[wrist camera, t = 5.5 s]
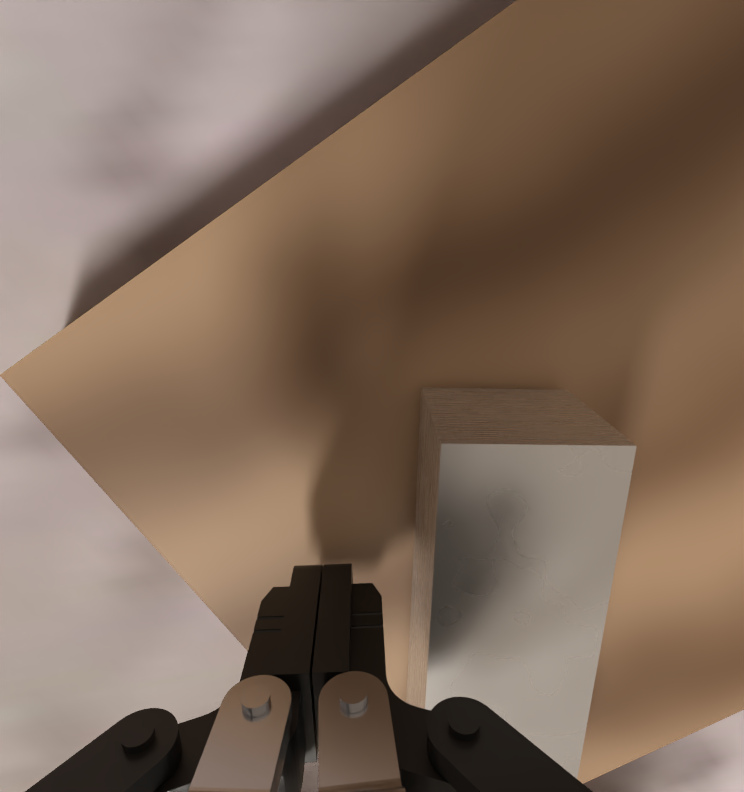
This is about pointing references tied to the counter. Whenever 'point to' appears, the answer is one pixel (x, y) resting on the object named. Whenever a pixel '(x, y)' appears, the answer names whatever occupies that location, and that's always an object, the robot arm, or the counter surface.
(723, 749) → the counter surface
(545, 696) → the hinged leg
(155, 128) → the counter surface
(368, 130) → the wooden cutting board
